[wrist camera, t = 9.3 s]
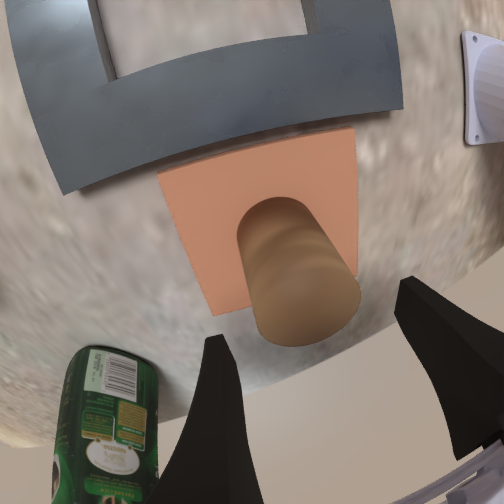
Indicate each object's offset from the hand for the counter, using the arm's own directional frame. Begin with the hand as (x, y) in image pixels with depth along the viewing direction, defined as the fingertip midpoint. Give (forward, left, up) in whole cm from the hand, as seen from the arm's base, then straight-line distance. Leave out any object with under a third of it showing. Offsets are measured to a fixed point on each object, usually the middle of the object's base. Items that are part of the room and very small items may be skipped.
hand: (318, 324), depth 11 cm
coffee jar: (+16, +10, -7) cm, 20 cm away
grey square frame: (+1, -14, -7) cm, 16 cm away
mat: (0, 0, -7) cm, 7 cm away
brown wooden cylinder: (0, 0, -7) cm, 7 cm away
